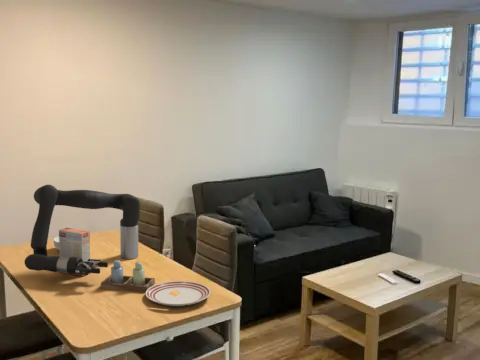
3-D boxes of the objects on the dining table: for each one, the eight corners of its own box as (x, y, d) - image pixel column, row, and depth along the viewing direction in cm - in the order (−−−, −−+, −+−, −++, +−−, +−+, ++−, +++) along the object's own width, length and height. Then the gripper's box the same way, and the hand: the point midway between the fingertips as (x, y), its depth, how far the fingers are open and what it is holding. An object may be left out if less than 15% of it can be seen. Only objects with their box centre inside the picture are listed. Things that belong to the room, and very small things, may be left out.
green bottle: (135, 284, 229) (135, 260, 227) (146, 285, 228) (146, 261, 226) (131, 288, 224) (131, 264, 222) (142, 289, 223) (142, 265, 221)
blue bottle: (114, 282, 230) (113, 258, 228) (125, 283, 229) (124, 259, 228) (109, 286, 225) (109, 262, 223) (120, 287, 224) (120, 263, 223)
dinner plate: (139, 290, 223) (139, 283, 223) (198, 283, 234) (198, 276, 233) (154, 316, 198) (154, 308, 198) (219, 306, 209) (220, 298, 209)
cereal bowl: (63, 244, 286) (62, 232, 285) (91, 246, 284) (91, 234, 283) (47, 254, 270) (47, 241, 268) (77, 256, 267) (77, 243, 266)
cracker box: (91, 273, 243) (90, 230, 239) (82, 277, 237) (81, 233, 234) (68, 268, 248) (67, 226, 245) (59, 272, 243) (58, 229, 240)
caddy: (110, 280, 233) (110, 274, 233) (154, 284, 230) (154, 278, 230) (100, 289, 223) (100, 283, 222) (146, 293, 220) (146, 287, 219)
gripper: (61, 262, 222) (97, 264, 219) (76, 252, 235) (110, 255, 233) (62, 278, 223) (97, 281, 220) (77, 268, 237) (110, 270, 234)
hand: (103, 267), depth 227 cm, fingers open, 8 cm apart
